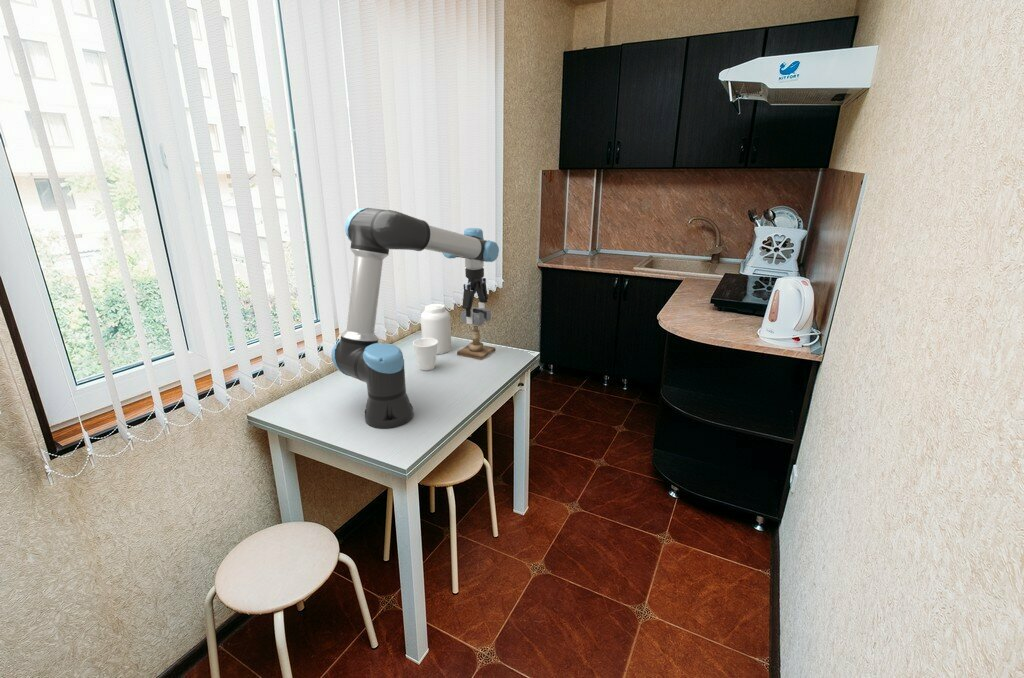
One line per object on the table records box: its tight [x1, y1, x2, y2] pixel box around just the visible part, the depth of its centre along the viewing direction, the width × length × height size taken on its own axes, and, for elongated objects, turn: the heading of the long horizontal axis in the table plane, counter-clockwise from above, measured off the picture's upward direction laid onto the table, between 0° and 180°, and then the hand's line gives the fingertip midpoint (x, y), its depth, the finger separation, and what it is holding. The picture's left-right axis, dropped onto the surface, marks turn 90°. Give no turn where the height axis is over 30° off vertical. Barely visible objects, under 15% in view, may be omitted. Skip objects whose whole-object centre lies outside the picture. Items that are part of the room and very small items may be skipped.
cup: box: [412, 337, 438, 371], centre depth 187 cm, size 10×10×11 cm
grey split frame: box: [460, 306, 492, 327], centre depth 199 cm, size 9×9×4 cm
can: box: [420, 303, 452, 355], centre depth 204 cm, size 12×12×20 cm
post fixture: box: [456, 325, 496, 361], centre depth 202 cm, size 12×12×12 cm
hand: (476, 320), depth 199 cm, fingers closed on grey split frame, 9 cm apart
